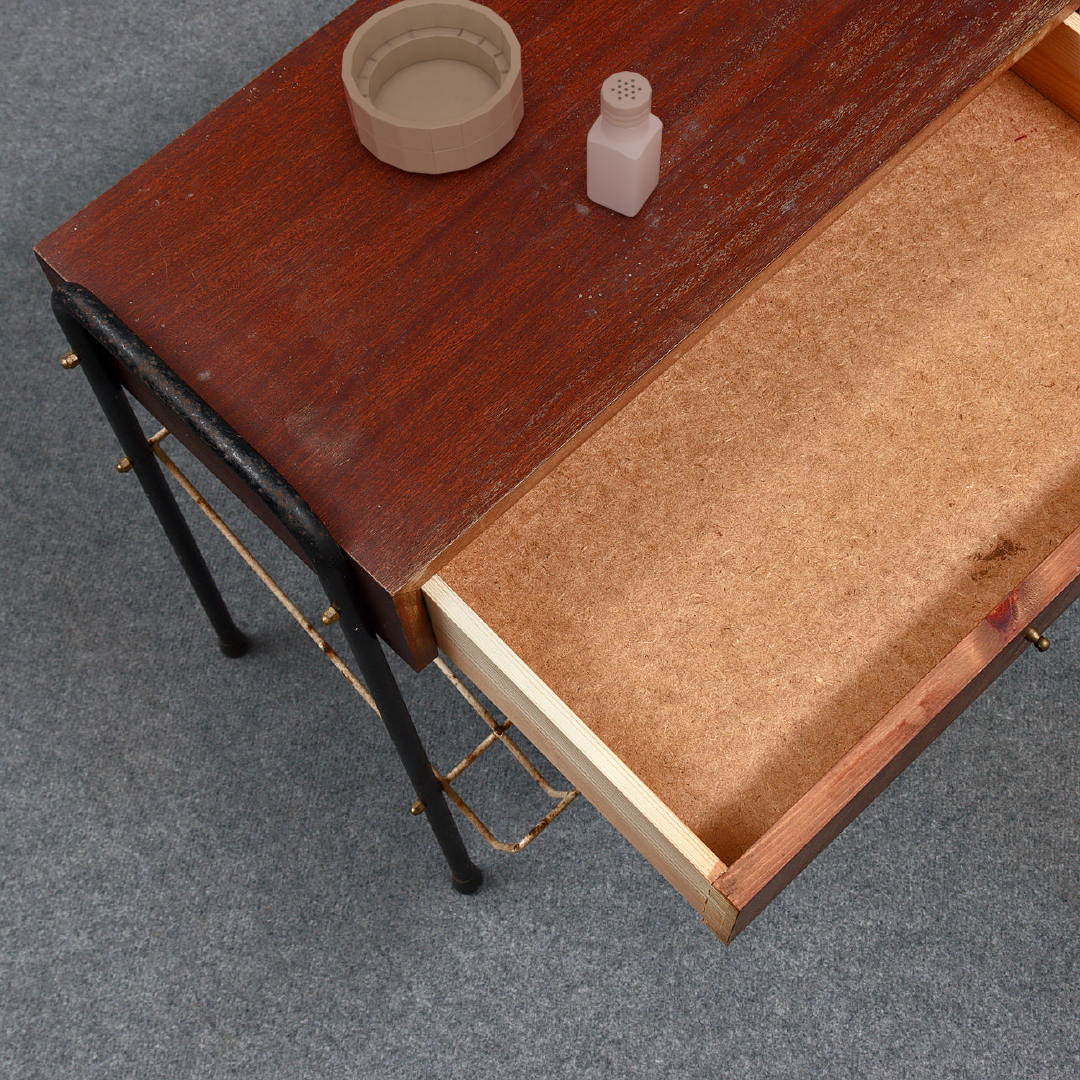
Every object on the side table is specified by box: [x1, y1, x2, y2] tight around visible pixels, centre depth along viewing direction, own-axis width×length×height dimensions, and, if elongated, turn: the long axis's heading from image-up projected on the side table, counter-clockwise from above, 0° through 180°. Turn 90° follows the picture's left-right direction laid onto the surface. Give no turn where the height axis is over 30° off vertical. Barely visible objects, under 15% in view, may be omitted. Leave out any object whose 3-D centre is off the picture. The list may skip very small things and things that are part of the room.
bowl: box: [340, 0, 525, 175], centre depth 90 cm, size 12×13×5 cm
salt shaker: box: [586, 70, 664, 218], centre depth 84 cm, size 4×4×10 cm
